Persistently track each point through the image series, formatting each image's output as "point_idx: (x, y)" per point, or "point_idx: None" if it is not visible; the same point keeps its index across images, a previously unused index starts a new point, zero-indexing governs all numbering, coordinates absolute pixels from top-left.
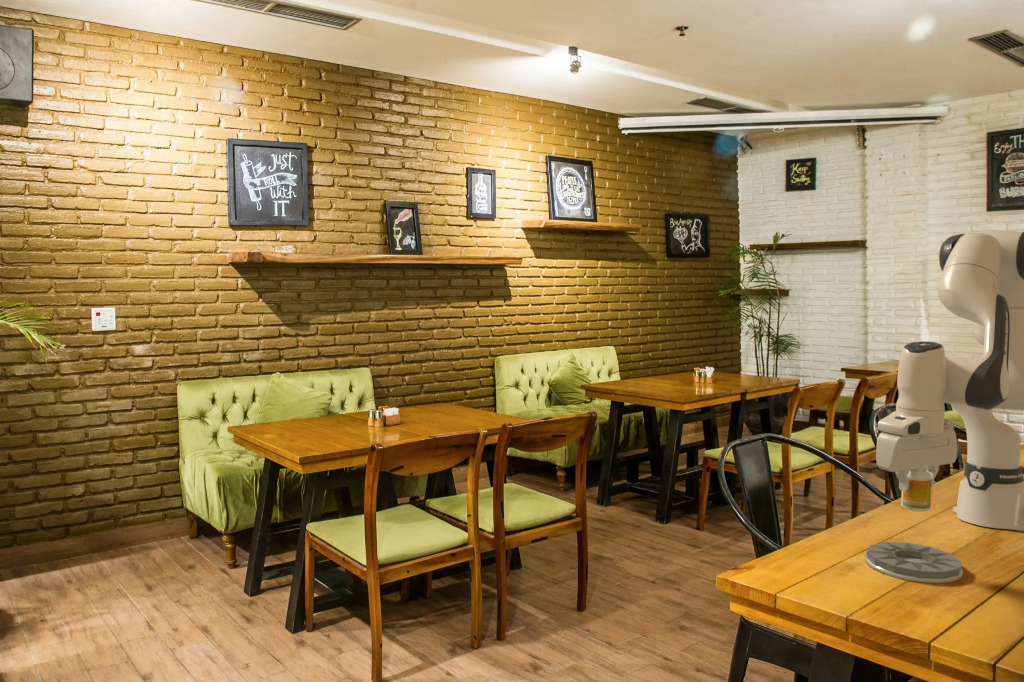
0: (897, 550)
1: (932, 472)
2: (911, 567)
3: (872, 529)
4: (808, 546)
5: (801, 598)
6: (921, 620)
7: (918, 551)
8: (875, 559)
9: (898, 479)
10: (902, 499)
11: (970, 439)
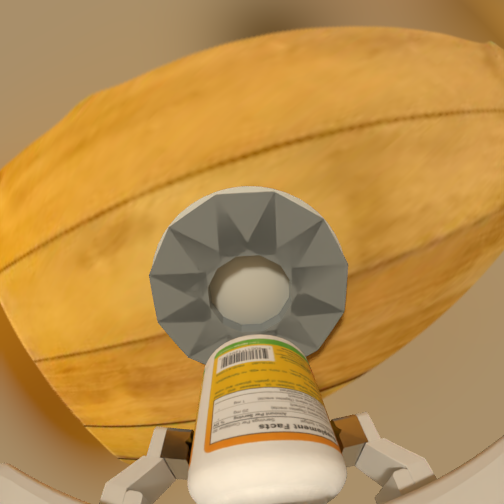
0: (248, 253)
1: (381, 477)
2: (187, 340)
3: (371, 73)
4: (129, 100)
5: (7, 304)
6: (103, 407)
7: (291, 278)
8: (150, 275)
9: (137, 461)
10: (204, 378)
11: None
